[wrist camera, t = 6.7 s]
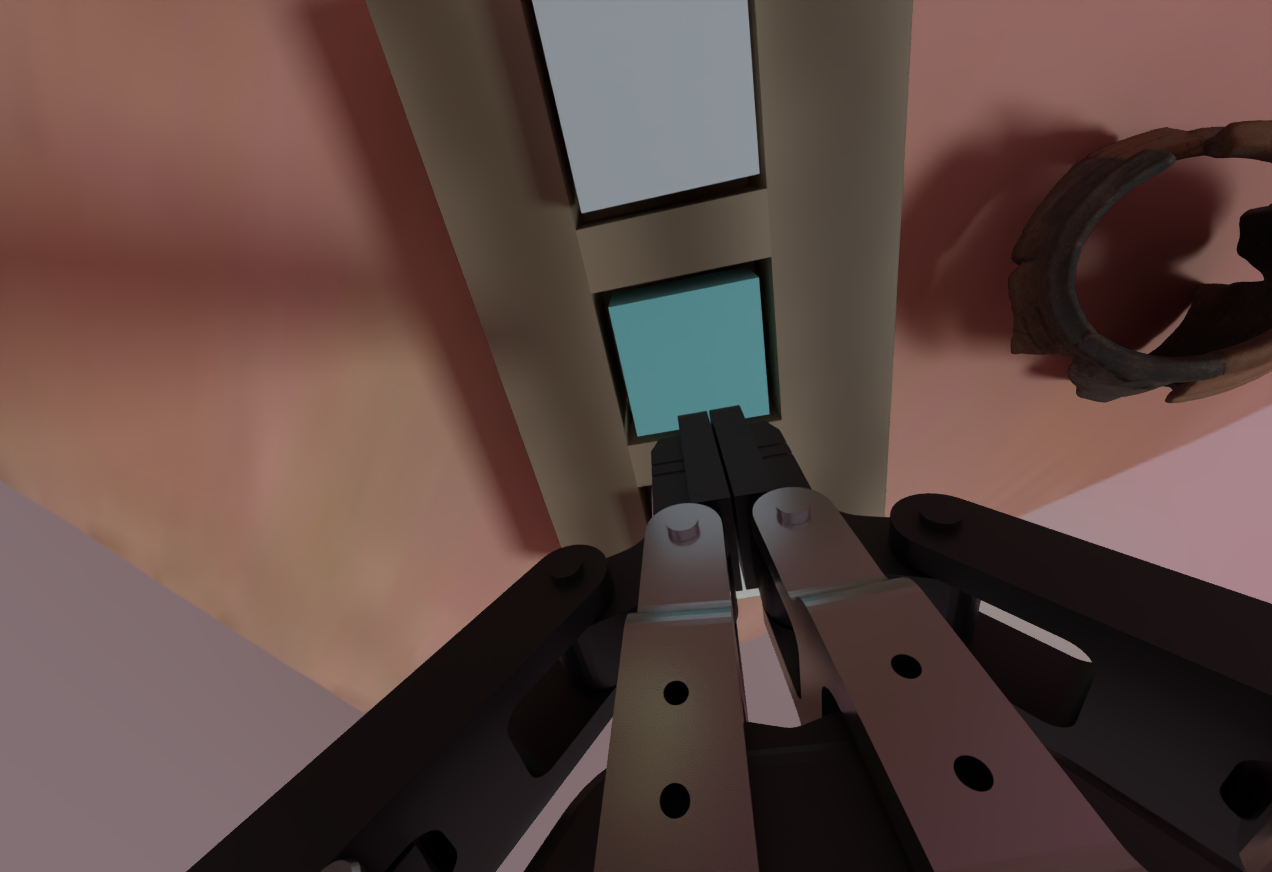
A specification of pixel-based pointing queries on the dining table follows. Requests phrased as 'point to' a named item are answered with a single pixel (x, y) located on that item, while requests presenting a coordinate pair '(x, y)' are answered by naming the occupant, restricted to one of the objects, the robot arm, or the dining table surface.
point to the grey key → (651, 94)
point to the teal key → (691, 347)
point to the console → (672, 241)
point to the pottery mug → (1219, 314)
